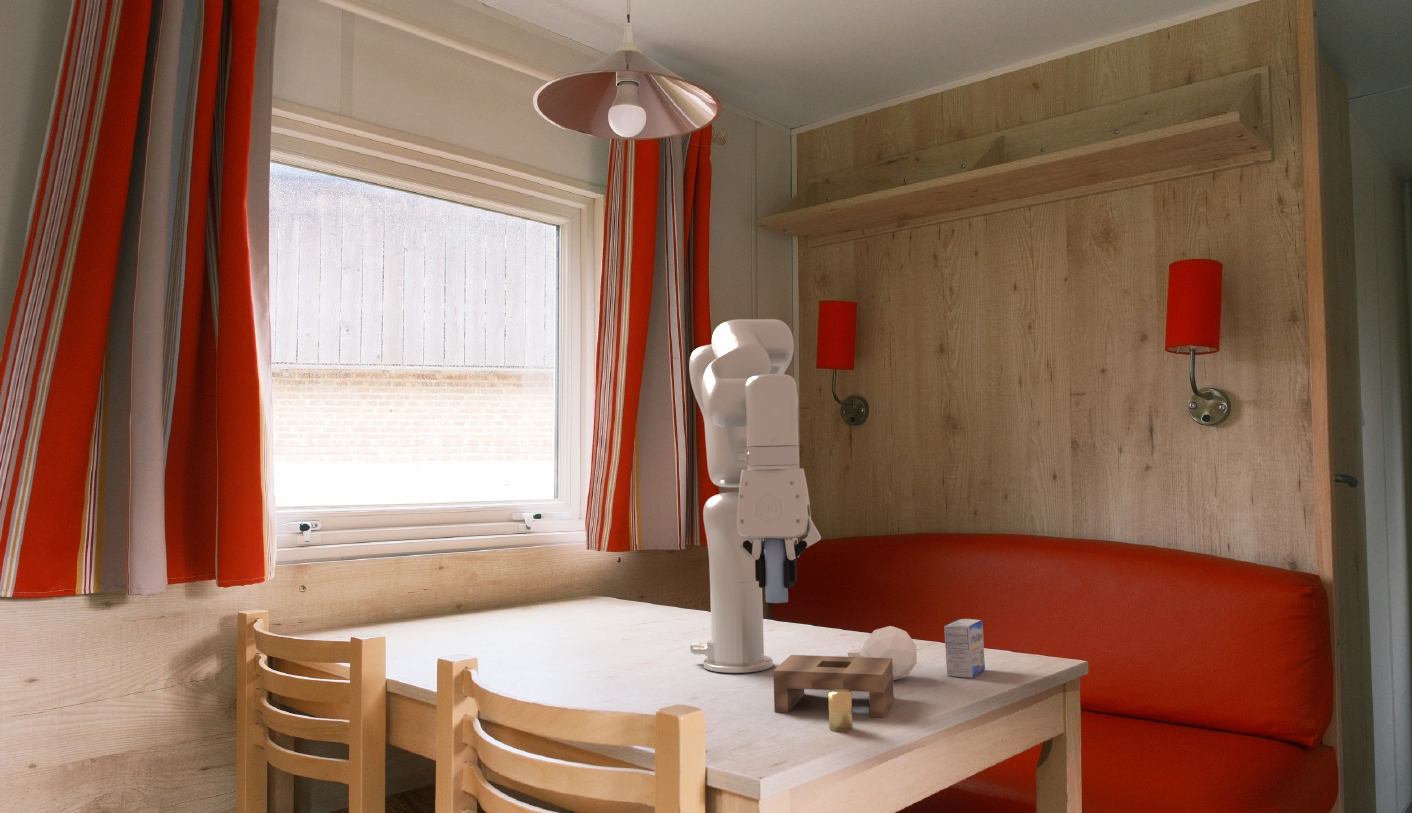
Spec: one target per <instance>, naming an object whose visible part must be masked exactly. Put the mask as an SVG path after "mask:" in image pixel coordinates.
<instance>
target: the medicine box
mask: <svg viewBox="0 0 1412 813" xmlns="http://www.w3.org/2000/svg"><path fill="white" fill-rule="evenodd" d="M983 624H984V623H983V620H982V619H972V618H961V619H957V620H955V621H952V622H950V623H949V624H946V625H944V642H945V643H944V644H945V646H944V648H945V661H946V662H945V663H946V664H945V665H946V666H945V667H946V676H947V677H952V678H953V677H954V678H963V679H974V678H975V677H976V676H978V675H979V674H980V673H982V672H983V671H984V670H985V669H986V664H985V663H986V662H985V660H986V659H985V646H984V645H985V644H984V643H985V642H984V626H983Z"/></svg>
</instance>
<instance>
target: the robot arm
mask: <svg viewBox="0 0 1412 813" xmlns="http://www.w3.org/2000/svg"><path fill="white" fill-rule="evenodd" d="M712 333H713V334H712V337H711V344H706V345H702V346H699V347H697V348H696V349H694V350H693V351H692V352H691V355H690V357H689V362H688V363H689V367H688V368H689V378H690V384H691V387H692V391H693V395H694V397H695V399H696V403H697V404H698V406H699V409H700V412H701V414H702V417H703V423H704V437H705V448H706V449H705V450H706V462H707V463H706V464H707V471H708V476H709V479H710V481H711V483H713V484H714V485H715V486H717V487H721V488H739V489H738V491H732V492H730V491H729V492H722V493H718V494H715V495H713V496H711V497H710V498H708V499H707V500H706V502H705V503H704V506H703V510H702V512H703V513H702V515H703V524H704V532H705V537H706V542H707V551H708V552H707V553H708V563H709V564H708V565H709V591H710V592H709V593H710V595H709V596H710V630H711V635H710V636H711V640H709V641H707V642H706V643H704V642H703V643H702V642H691V644H690V647H689V648H690V649H689V650H690V653H691V654H693V655H704V656H705V657H706V658H705V659H704V660H703V667H704V669H706V670H708V671H712V672H716V673H725V674H727V673H728V674H743V673H744V674H745V673H755V672H762V671H765V670H768V669H770V668H772V667H773V665H774V663H773V661H774V660H773V658H772V657H769V656H767V655H765V649H764V648H765V645H764V644H765V643H764V641H765V640H764V614H763V613H764V611H763V610H764V609H763V608H764V607H763V606H764V605H763V589H764V588H765V555H764V539H765V538H785V544H786V552H787V555H786V560H785V561H784V587H786V588H788V589H791V588H793V587H795V583H796V582H798V558H799V557H800V555H801V554H802V553H804V551H806V549H807V548H809V547H810V546H812V545H814V544H816V543H817V542H819V541H820V540H821V538H822V536H821V534H820V532H819V530H818V529H817V527H816V526H815V523H814V522H813V520H812V514H811V507H810V506H811V504H810V496H809V490H808V484H807V483H808V482H807V478H806V473H805V469H804V468H801V467H800V456H799V455H800V453H799V451H800V450H799V448H800V447H799V422H798V416H799V414H798V412H799V411H798V410H799V397H798V396H799V394H798V392H797V381H796V380H795V379H794V377H793V376H791V375H789V374H785V372H786V371H787V369H788V367H789V365H790V363H791V361H792V358H793V356H794V355H793V354H794V349H795V348H794V346H795V345H794V343H795V342H794V336H793V332H792V331H791V329H790V326H789V325H788V324H787V323H786V322H784V321H782V320H780V319H777V318H774V319H773V318H771V319H770V318H765V319H764V318H762V319H761V318H760V319H756V318H755V319H754V318H753V319H751V318H750V319H743V318H742V319H741V318H740V319H739V318H738V319H730V320H727V321H724V322H722V323H720V324H719V325H717V327H716V328H715V329H714V331H713V332H712ZM805 535H807V536H806V537H805V538H803V539H801V540H800V541H799V539H798V538H800V537H802V536H805Z"/></svg>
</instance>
